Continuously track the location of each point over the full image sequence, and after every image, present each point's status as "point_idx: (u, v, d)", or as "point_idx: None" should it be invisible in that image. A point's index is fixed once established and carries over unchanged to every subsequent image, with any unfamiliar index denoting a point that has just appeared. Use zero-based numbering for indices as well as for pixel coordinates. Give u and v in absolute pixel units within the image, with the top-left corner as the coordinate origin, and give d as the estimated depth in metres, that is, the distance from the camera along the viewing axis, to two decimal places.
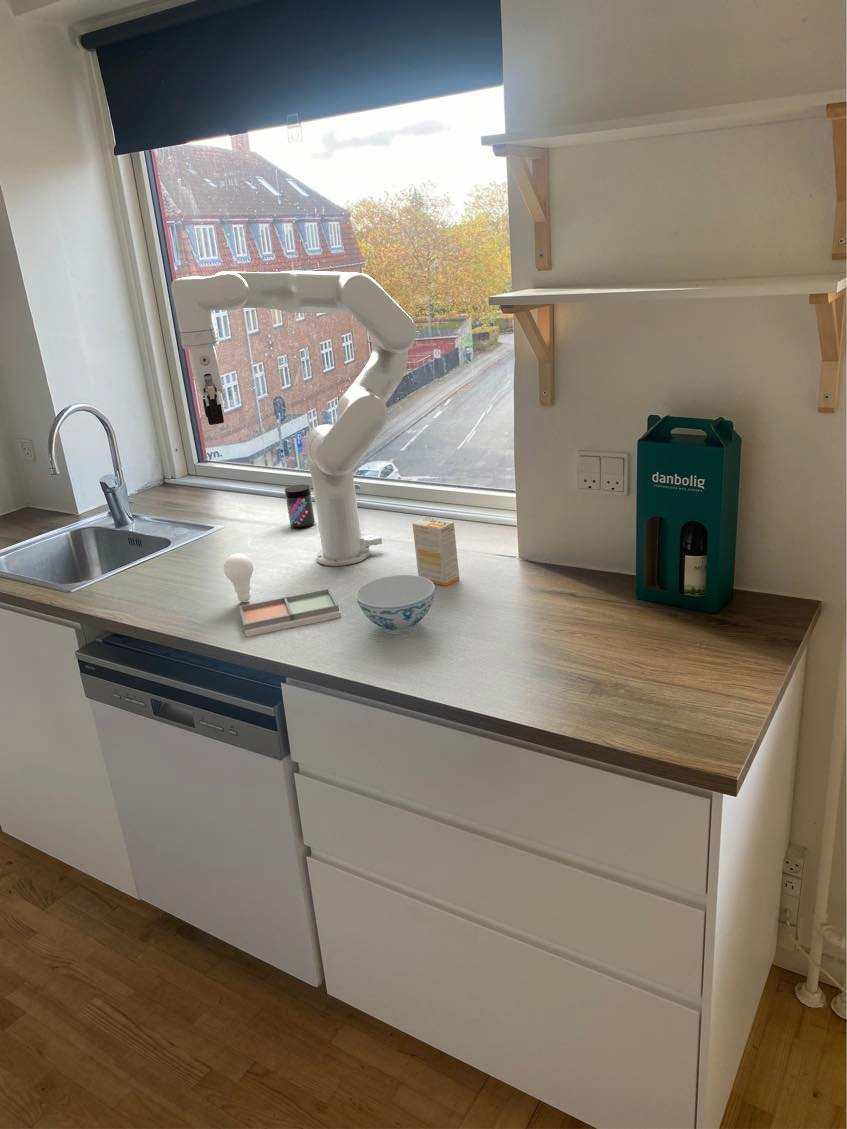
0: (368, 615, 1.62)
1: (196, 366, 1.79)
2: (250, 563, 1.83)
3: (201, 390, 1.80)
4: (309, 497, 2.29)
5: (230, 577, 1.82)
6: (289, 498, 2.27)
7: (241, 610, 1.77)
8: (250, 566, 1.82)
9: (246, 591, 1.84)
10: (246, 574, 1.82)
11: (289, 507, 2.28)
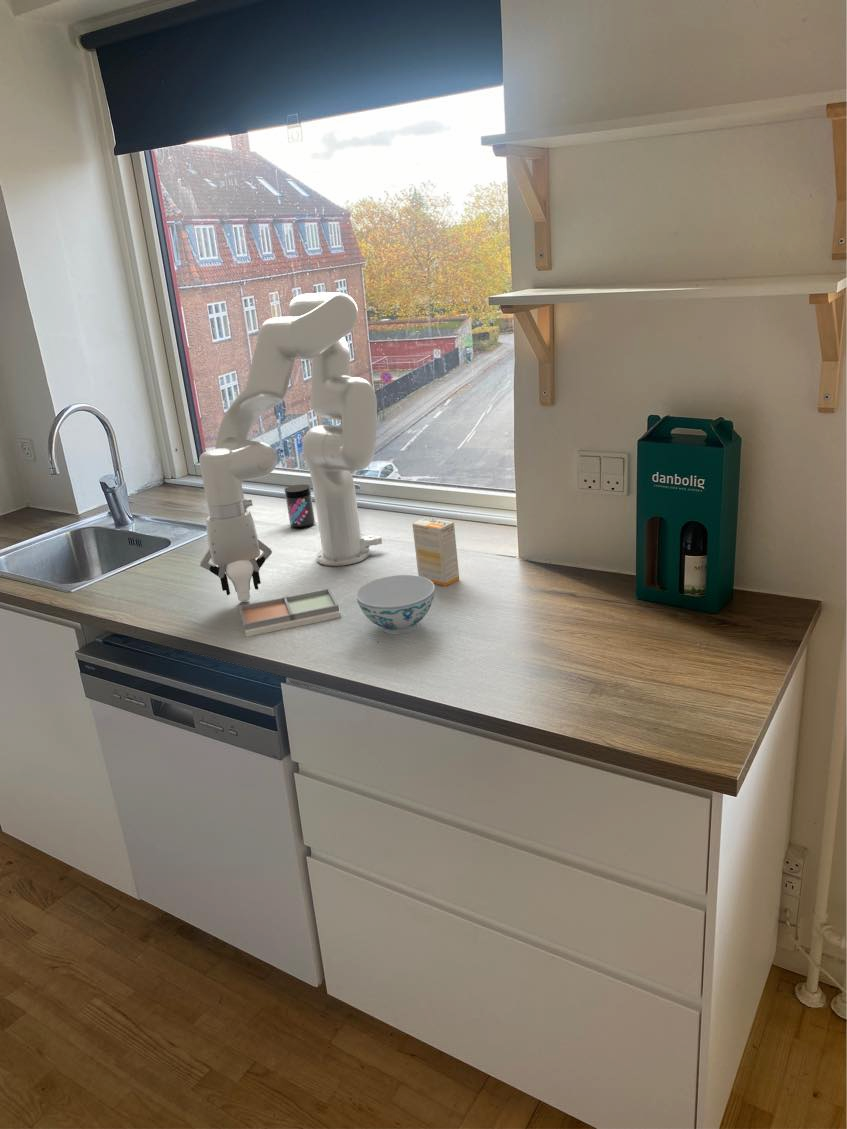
0: (368, 615, 1.62)
1: (254, 530, 1.80)
2: None
3: (259, 552, 1.82)
4: (309, 497, 2.29)
5: (231, 577, 1.82)
6: (289, 498, 2.27)
7: (241, 610, 1.77)
8: (251, 567, 1.82)
9: (246, 591, 1.84)
10: (247, 574, 1.82)
11: (289, 507, 2.28)
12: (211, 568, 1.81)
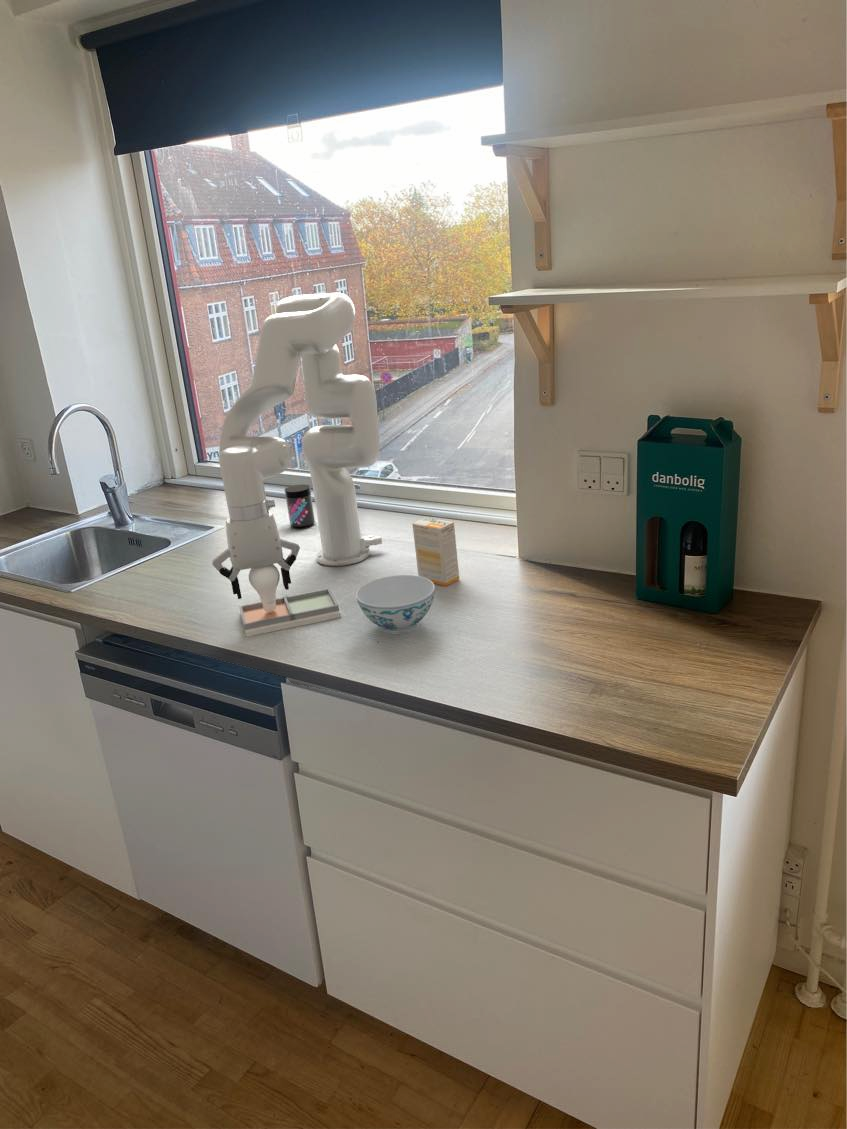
0: (368, 615, 1.62)
1: (276, 532, 1.69)
2: (277, 571, 1.73)
3: (281, 556, 1.71)
4: (309, 497, 2.29)
5: (257, 587, 1.72)
6: (289, 498, 2.27)
7: (241, 610, 1.77)
8: (277, 575, 1.73)
9: (273, 601, 1.75)
10: (273, 583, 1.72)
11: (289, 507, 2.28)
12: (221, 570, 1.69)
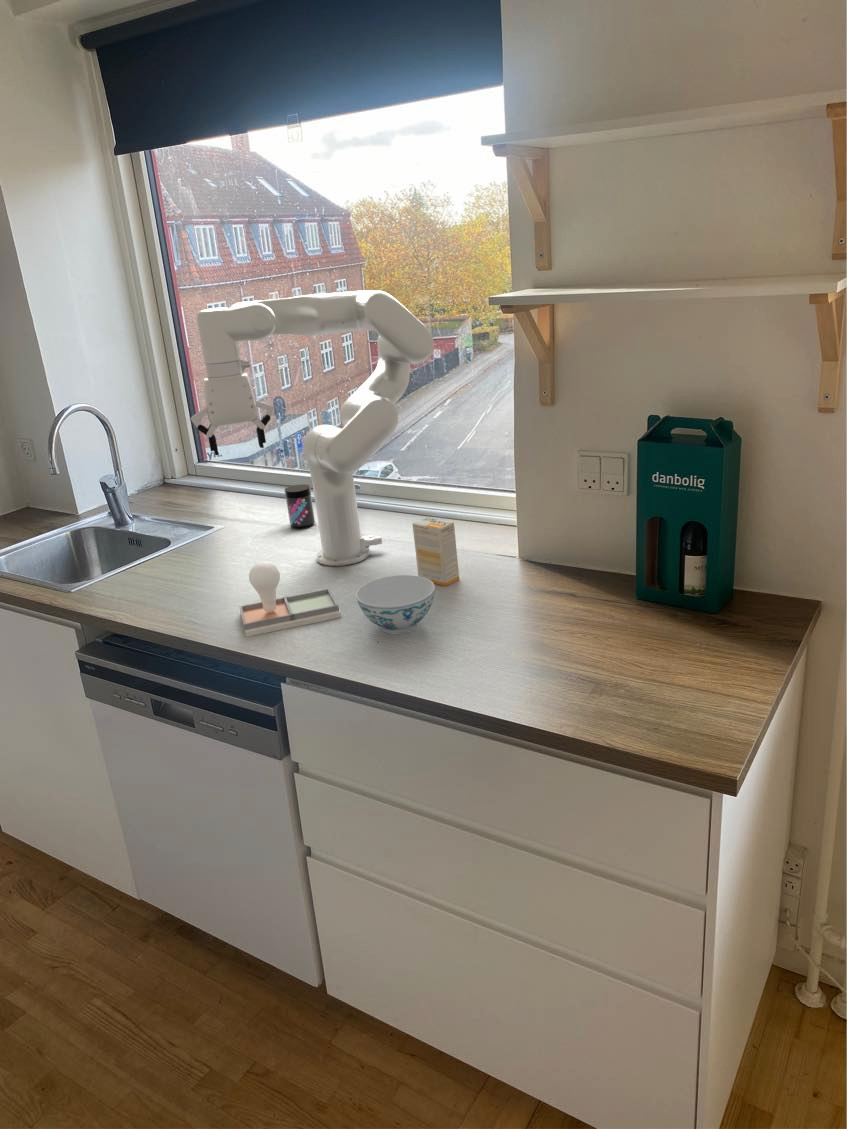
0: (368, 615, 1.62)
1: (251, 391, 1.82)
2: (277, 571, 1.73)
3: (256, 414, 1.83)
4: (309, 497, 2.29)
5: (257, 586, 1.72)
6: (289, 498, 2.27)
7: (241, 610, 1.77)
8: (277, 575, 1.73)
9: (273, 601, 1.75)
10: (274, 583, 1.72)
11: (289, 507, 2.28)
12: (199, 427, 1.82)
